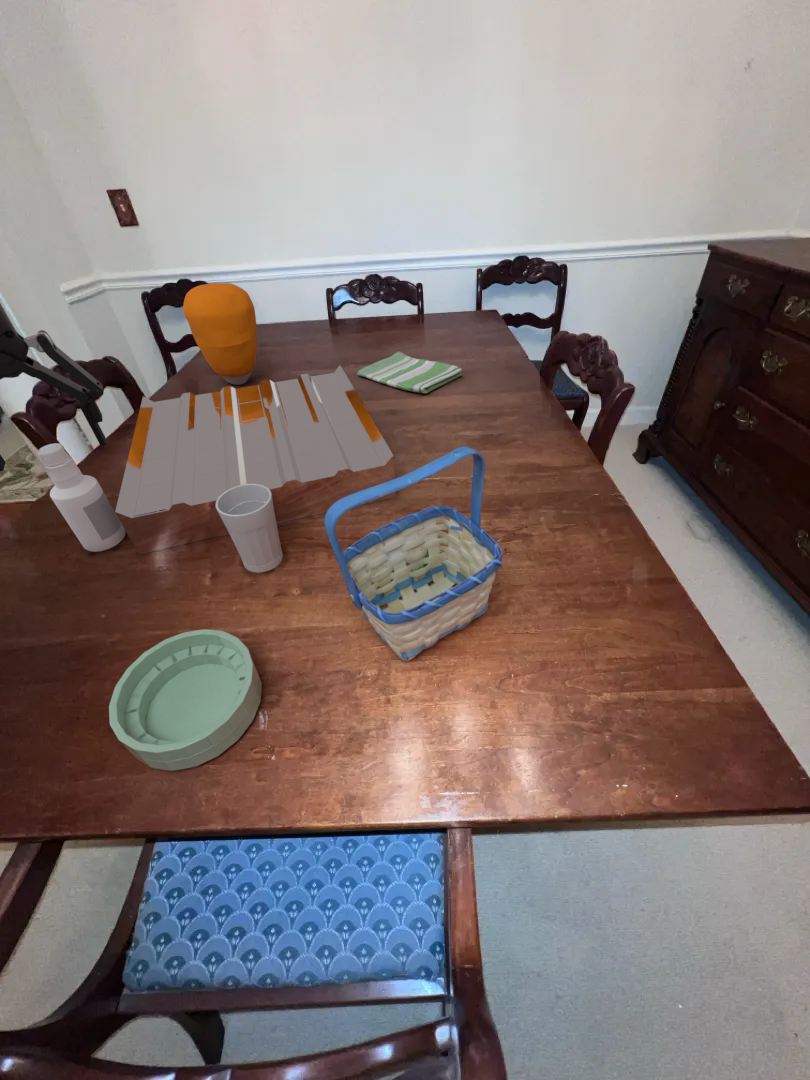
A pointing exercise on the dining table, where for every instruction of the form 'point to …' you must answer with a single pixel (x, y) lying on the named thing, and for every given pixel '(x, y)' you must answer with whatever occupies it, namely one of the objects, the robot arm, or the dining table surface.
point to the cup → (252, 525)
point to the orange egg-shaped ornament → (224, 328)
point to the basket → (419, 563)
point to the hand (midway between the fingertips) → (54, 454)
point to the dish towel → (410, 373)
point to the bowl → (186, 699)
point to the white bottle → (81, 501)
